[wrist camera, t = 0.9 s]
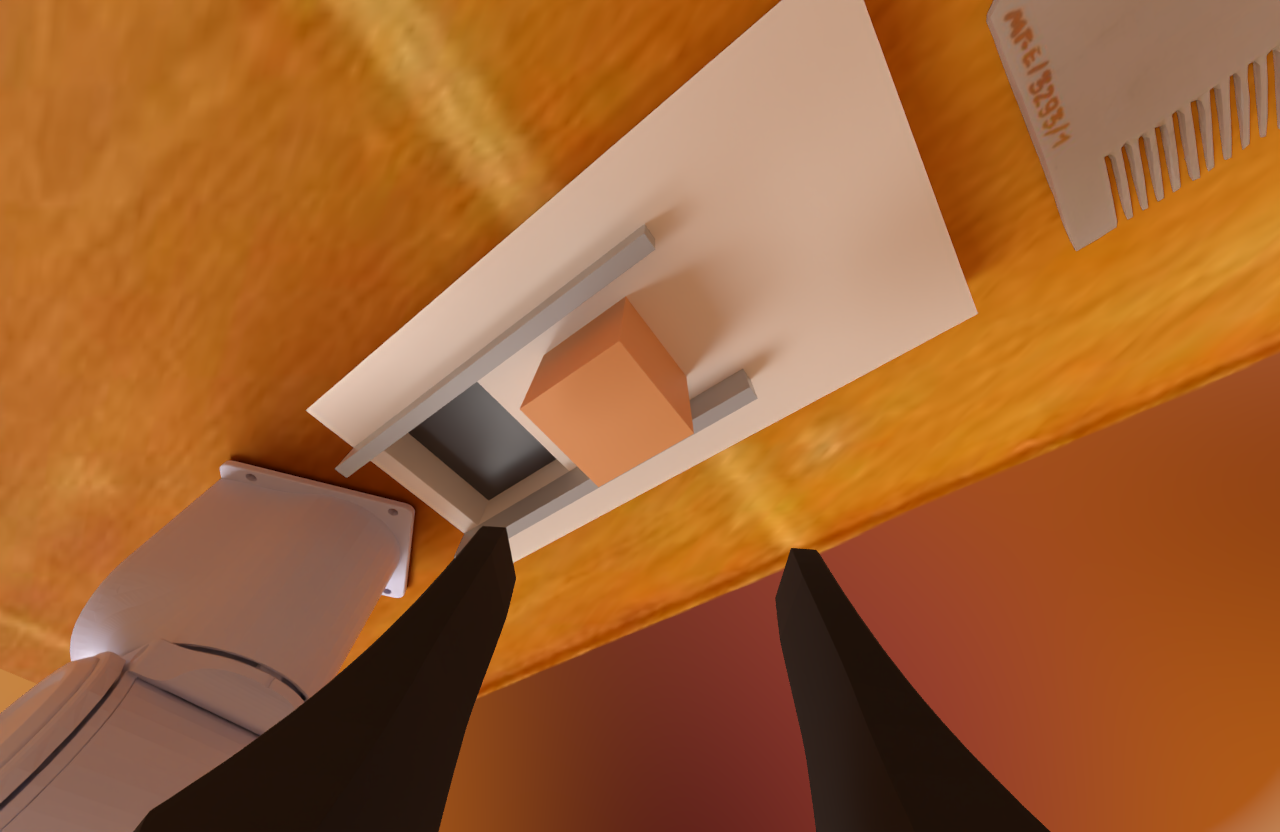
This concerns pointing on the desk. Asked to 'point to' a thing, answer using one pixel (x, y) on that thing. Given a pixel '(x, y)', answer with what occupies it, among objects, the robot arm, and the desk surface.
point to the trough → (677, 281)
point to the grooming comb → (1130, 89)
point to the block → (610, 395)
